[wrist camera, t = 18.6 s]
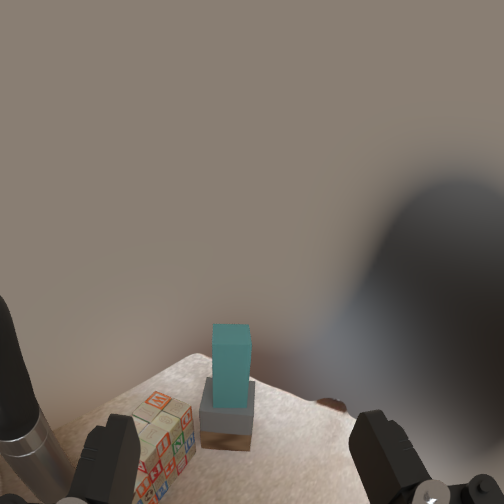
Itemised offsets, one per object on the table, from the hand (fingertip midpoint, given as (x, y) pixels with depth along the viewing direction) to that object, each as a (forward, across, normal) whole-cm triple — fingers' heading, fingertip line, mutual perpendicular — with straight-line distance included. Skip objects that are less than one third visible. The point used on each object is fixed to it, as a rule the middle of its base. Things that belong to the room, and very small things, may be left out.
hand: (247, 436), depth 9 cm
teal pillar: (+28, -1, +26) cm, 39 cm away
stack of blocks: (+16, +12, +36) cm, 42 cm away
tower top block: (+29, -1, +31) cm, 42 cm away
